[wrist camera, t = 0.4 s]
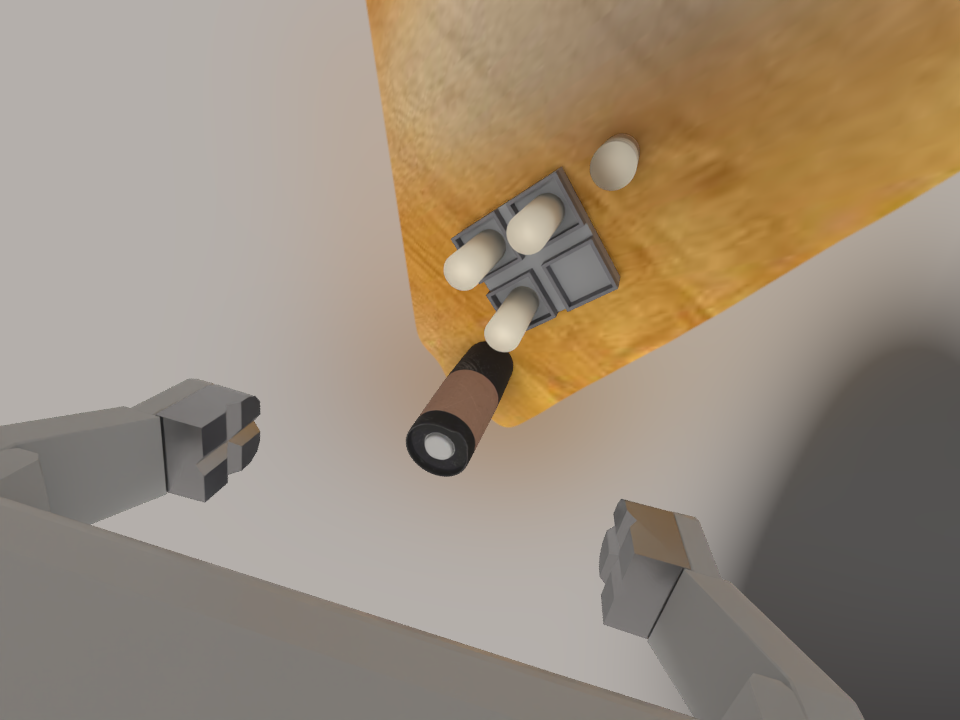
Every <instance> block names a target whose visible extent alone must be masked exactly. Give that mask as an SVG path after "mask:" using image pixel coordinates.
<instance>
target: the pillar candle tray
mask: <svg viewBox="0 0 960 720" xmlns="http://www.w3.org/2000/svg"><path fill="white" fill-rule="evenodd" d="M451 240H452V242H453V243H454V245H455V247H456V248H457V251H456V252H455V253H453V254H452V255H451V256H450V257H449V258H448V259H447V260H446V262H445V264H444V275H445V278H446V280H447V281H448V283H449V284H450V285H451V286H452V287H454V288H456V289H458V290H463V291H466V290H470V289H472V288H474V287H475V286H476V285H477V284H478V283H479V284H481V283H483V282H485V284H486V285H487V287H488V289H489V290H490V291H489V292H488V294H487V295H486V296H487V298H488V299H489V301H490V302H491V304H492V305H493V307H494V309H495V310H496V313H495V314H494V316H493V317H492V319H491V320H490V321H489V323H488V324H487V326H486V328H485V331H484V335H485V339H486V341H487V343H488V344H489V345H490V347H492V348H493V349H495V350H497V351H500V352H510V351H512V350H514V349H515V348H516V347H517V346H518V344H519V342H520V341H521V339H522V337H523V335H524V333H525V331H527V330H529V329H532V328H534V327H536V326H538V325H540V324H542V323H545V322H547V321H549V320H551V319H553V318H555V317H556V316H557V314H558V312H559V311H562V310H564V309H566V310H567V312H568V311H571V310H573V309H575V308H577V307H579V306H581V305H584V304H586V303H588V302H590V301H592V300H594V299H597V298H599V297H601V296H603V295H605V294H607V293H610V292H612V291H614V290H616V289H618V286H619V281H620V276H619V274H618V272H617V270H616V268H615V266H614V264H613V262H612V261H611V259H610V257H609V255H608V253H607V251H606V249H605V247H604V245H603V244H602V242H601V240H600V238H599V236H598V234H597V232H596V230H595V228H594V227H593V225H592V223H591V221H590V219H589V217H588V215H587V213H586V211H585V210H584V208H583V206H582V204H581V202H580V200H579V198H578V196H577V194H576V193H575V191H574V189H573V187H572V185H571V183H570V181H569V179H568V177H567V176H566V174H565V172H564V170H563V168H562V167H560V168H559V169H557V170H556V171H554V172H553V173H551V174H549V175H548V176H546V177H545V178H543V179H542V180H540V181H539V182H537V183H536V184H534V185H532V186H531V187H529V188H528V189H526V190H525V191H523V192H522V193H520V194H519V195H517V196H515V197H514V198H512V199H511V200H509V201H508V202H506V203H505V204H503V205H502V206H500V207H498V208H497V209H495V210H494V211H492V212H491V213H489V214H488V215H486V216H485V217H483V218H481V219H480V220H478V221H477V222H475V223H474V224H472V225H471V226H469V227H467V228H466V229H464V230H463V231H461V232H460V233H459V234H457V235H456V236H454V237H453V238H452V239H451Z"/></svg>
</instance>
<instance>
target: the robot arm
mask: <svg viewBox="0 0 960 720" xmlns="http://www.w3.org/2000/svg"><path fill="white" fill-rule="evenodd" d="M259 415H260V401H259V400H258V399H257V398H256V396H253V395H250V394H246V393H243V392H240V391H236V390H233V389H230V388H226V387H223V386H220V385H215V384H213V383H210V382H206V381H202V380H199V379H187V380H185V381H183V382H181V383H179V384H177V385H175V386H174V387H171V388H169V389H167V390H165V391H164V392H162V393H160V394H158V395H156V396H154V397H152V398H150V399H148V400H146V401H144V402H142V403H140V404H138V405H136V406H134V407H132V408H128V407H124V406H123V407H117V408H111V409H104V410H98V411H92V412H85V413H79V414H73V415H66V416H60V417H54V418H48V419H42V420H35V421H28V422H22V423H16V424H10V425H4V426H0V720H864V718H863V716H862V714H861V713H860V711H859V709H858V707H857V705H856V703H855V702H854V701H853V700H852V699H851V698H850V697H849V696H848V695H847V694H846V693H845V692H844V691H843V690H842V689H841V688H840V687H839V686H838V685H836V683H834V682H833V681H832V680H831V679H830V678H829V677H828V676H827V675H826V674H825V673H824V672H823V671H822V670H821V669H820V668H819V667H818V666H817V665H816V664H815V663H814V662H813V661H812V660H811V659H810V658H809V657H807V655H805V654H804V653H803V652H802V651H801V650H800V649H799V648H798V647H797V646H796V645H795V644H794V643H793V642H792V641H791V640H790V639H789V638H788V637H787V636H786V635H785V634H784V633H783V632H782V631H780V629H778V628H777V627H776V626H775V625H774V624H773V623H772V622H771V621H770V620H769V619H768V618H767V617H766V616H765V615H764V614H763V613H762V612H761V611H760V610H759V609H758V608H757V607H756V606H755V605H754V604H753V603H752V602H751V601H749V600H748V599H747V598H746V597H745V596H744V595H743V594H742V593H741V592H740V591H739V590H738V589H737V588H736V587H735V586H734V585H733V584H732V583H731V582H729V581H726V580H722V578H721V576H720V573H719V570H718V568H717V565H716V563H715V560H714V558H713V555H712V552H711V550H710V548H709V545H708V542H707V540H706V537H705V535H704V532H703V530H702V527H701V524H700V522H699V520H697V519H696V518H695V517H692V516H688V515H684V514H680V513H675V512H672V511H666V510H662V509H658V508H654V507H651V506H646V505H643V504H639V503H635V502H631V501H628V500H624V499H621V500H620V501H619V503H618V504H617V507H616V509H615V512H614V522H615V526H614V527H612V528H610V529H609V530H607V532H606V535H605V537H604V540H603V543H602V548H601V553H600V560H599V572H600V578H601V579H602V580H603V582H604V583H605V587H604V589H603V592H602V594H601V599H602V612H603V624H604V625H607V626H610V627H613V628H616V629H619V630H622V631H625V632H628V633H631V634H634V635H637V636H640V637H643V638H646V639H648V643H649V645H650V646H651V648H652V650H653V651H654V653H655V654H656V656H657V658H658V659H659V661H660V663H661V664H662V666H663V667H664V669H665V671H666V672H667V674H668V676H669V677H670V679H671V681H672V682H673V684H674V685H675V687H676V689H677V690H678V692H679V694H680V695H681V697H682V699H683V700H684V702H685V704H686V705H687V707H688V708H689V710H690V712H691V713H692V715H693V716H694V717H691V716H688V715H685V714H682V713H679V712H676V711H673V710H670V709H666V708H663V707H660V706H657V705H654V704H651V703H647V702H644V701H641V700H638V699H635V698H632V697H629V696H625V695H622V694H619V693H616V692H613V691H610V690H606V689H603V688H600V687H597V686H593V685H590V684H587V683H584V682H581V681H577V680H575V679H571V678H568V677H565V676H562V675H559V674H555V673H552V672H549V671H546V670H543V669H540V668H537V667H533V666H530V665H527V664H524V663H521V662H518V661H515V660H512V659H509V658H506V657H502V656H499V655H496V654H493V653H490V652H487V651H484V650H481V649H477V648H474V647H471V646H468V645H465V644H462V643H459V642H456V641H453V640H449V639H447V638H444V637H440V636H437V635H434V634H431V633H428V632H425V631H421V630H418V629H416V628H412V627H409V626H406V625H403V624H400V623H397V622H394V621H391V620H387V619H384V618H381V617H377V616H375V615H372V614H369V613H365V612H362V611H359V610H356V609H353V608H349V607H347V606H343V605H340V604H337V603H334V602H330V601H328V600H324V599H321V598H318V597H315V596H312V595H309V594H306V593H302V592H299V591H296V590H293V589H290V588H286V587H283V586H280V585H277V584H274V583H271V582H268V581H264V580H262V579H258V578H255V577H252V576H249V575H246V574H243V573H239V572H236V571H233V570H230V569H227V568H224V567H221V566H217V565H214V564H211V563H208V562H205V561H202V560H199V559H196V558H192V557H189V556H186V555H183V554H180V553H176V552H174V551H170V550H167V549H164V548H161V547H158V546H155V545H151V544H148V543H145V542H142V541H139V540H136V539H133V538H129V537H127V536H123V535H120V534H117V533H114V532H111V531H107V530H105V529H101V528H98V527H95V526H92V525H90V524H93V523H95V522H98V521H100V520H103V519H105V518H108V517H111V516H113V515H116V514H118V513H120V512H123V511H126V510H128V509H131V508H133V507H135V506H138V505H140V504H143V503H146V502H148V501H150V500H153V499H156V498H158V497H160V496H163V495H166V494H167V492H169V493H172V494H176V495H180V496H183V497H187V498H191V499H194V500H198V501H202V502H206V501H207V500H209V499H210V498H211V497H212V496H213V495H214V494H215V493H217V492H218V491H219V490H220V489H221V488H222V487H223V486H225V485H226V484H227V483H228V475H229V474H232V473H235V472H239V471H242V470H243V469H244V468H245V467H246V466H247V465H248V464H249V463H250V462H251V461H252V459H253V457H254V456H255V454H256V452H257V450H258V446H259V442H260V430H259V429H258V427H257V425H256V424H255V422H254V420H255V419H256V418H257V417H258V416H259Z"/></svg>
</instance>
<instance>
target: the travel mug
mask: <svg viewBox="0 0 960 720" xmlns="http://www.w3.org/2000/svg"><path fill="white" fill-rule="evenodd" d="M512 371H513V362H512V359H511V356H510V355H509V353H508V352H500V351H497V350H495V349H493V348H492V347H490V345H489V344H488V343H487V342H480V343H477V344H475V345H473V346H472V347H471V348H470V349H469V350H468V352H467V353H466V354H465V355H464V356H463V358H462V359H461V360H460V361H459V363H458V364H457V365H456V366H455V368H454V369H453V370H452V371H451V373H450V374H449V375H448V376H447V378H446V379H445V380H444V382H443V383H442V385H441V386H440V388H439V389H438V390H437V392H436V393H435V395H434V396H433V397H432V399H431V400H430V402H429V403H428V404H427V406H426V407H425V409H424V410H423V411H422V413H421V414H420V416H419V417H418V419H417V420H416V421H415V423H414V424H413V426H412V427H411V429H410V430H409V432H408V434H407V437H406V447H407V450H408V452H409V455H410V456H411V458H412V459H413V460H414V461H415V463H417V464H418V465H419V466H420V467H421V468H422V469H424V470H425V471H427V472H430V473H432V474H435V475H438V476H444V477H445V476H446V477H447V476H454V475H457V474H459V473H460V472H462V471H463V470H464V469H465V468H466V466H467V464H468V463H469V461H470V459H471V457H472V455H473V453H474V451H475V449H476V447H477V445H478V443H479V441H480V439H481V437H482V435H483V434H484V432H485V429H486V428H487V426H488V423H489V422H490V420H491V418H492V416H493V414H494V412H495V410H496V408H497V406H498V404H499V402H500V400H501V397H502V395H503V393H504V390H505V388H506V386H507V384H508V381H509V379H510V377H511V374H512Z"/></svg>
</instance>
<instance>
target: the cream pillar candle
mask: <svg viewBox="0 0 960 720" xmlns="http://www.w3.org/2000/svg"><path fill="white" fill-rule="evenodd" d="M639 155H640V149H639V145H638V143H637V141H636V140H635V139H634V138H633V137H632V136H630V135H628V134H616V135H614V136H612V137H610V138H609V139H608V140H607V141H606V142H605V143H604V144H603V145H602V146H601V147H600V148H599V149H598V150H597V151H596V152H595V154H594V155H593V157H592V160H591V163H590V174H591V177H592V180H593V181H594V183H595V184H596V185H597V186H598V187H600V188H602V189H604V190H609V191H613V190H618V189H621V188H623V187H624V186H626V185H627V184H628V183H629V182H630V181H631V180H632V179H633V177H634V175H635V172H636V169H637V164H638V160H639Z"/></svg>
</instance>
